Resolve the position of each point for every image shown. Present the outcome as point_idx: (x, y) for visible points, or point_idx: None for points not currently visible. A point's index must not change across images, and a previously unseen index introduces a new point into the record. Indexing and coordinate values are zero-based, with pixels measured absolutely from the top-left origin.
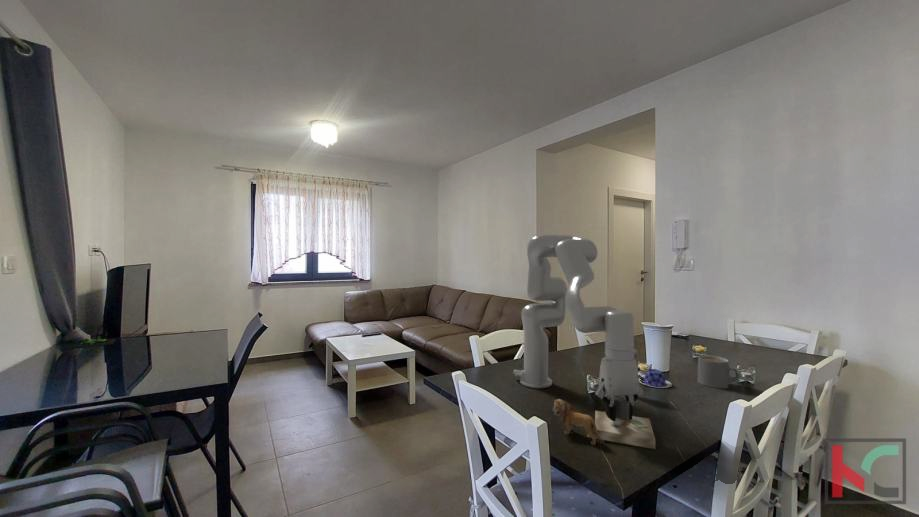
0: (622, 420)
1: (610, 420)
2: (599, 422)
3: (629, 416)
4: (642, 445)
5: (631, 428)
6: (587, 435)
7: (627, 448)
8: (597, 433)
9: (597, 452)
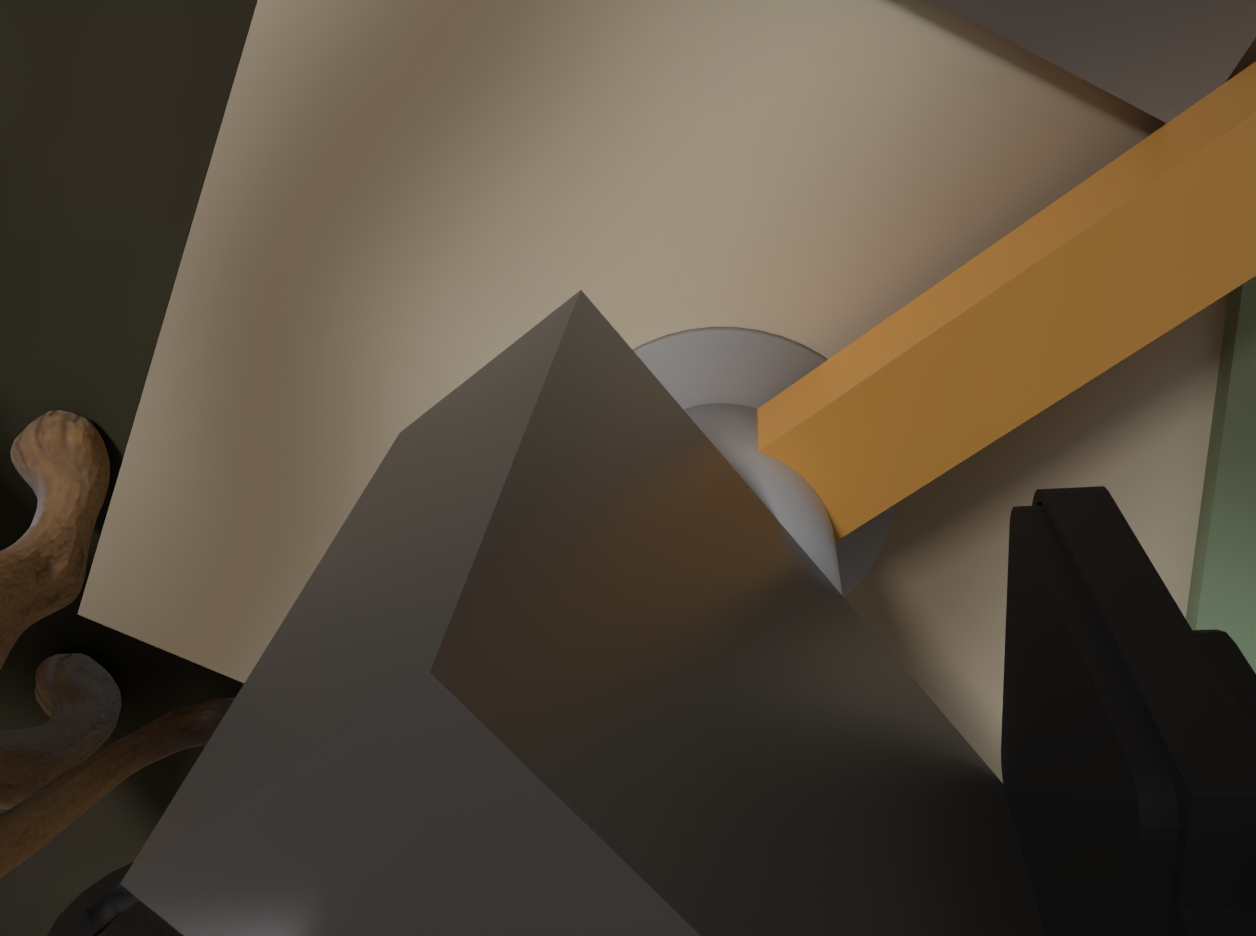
0: (924, 467)
1: (675, 202)
2: (298, 300)
3: (1009, 847)
4: None
5: (983, 665)
6: (17, 470)
7: None
8: (69, 822)
9: (104, 875)
